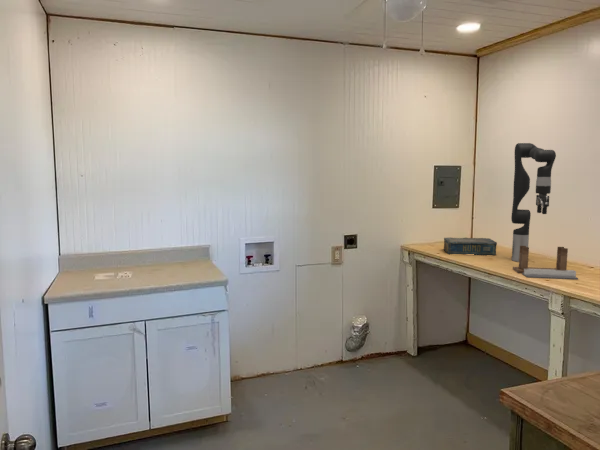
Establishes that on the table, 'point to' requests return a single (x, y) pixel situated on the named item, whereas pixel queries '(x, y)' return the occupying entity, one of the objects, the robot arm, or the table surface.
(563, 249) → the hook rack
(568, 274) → the steel rail
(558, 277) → the rubber mat
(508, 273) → the table surface
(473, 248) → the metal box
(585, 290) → the table surface
